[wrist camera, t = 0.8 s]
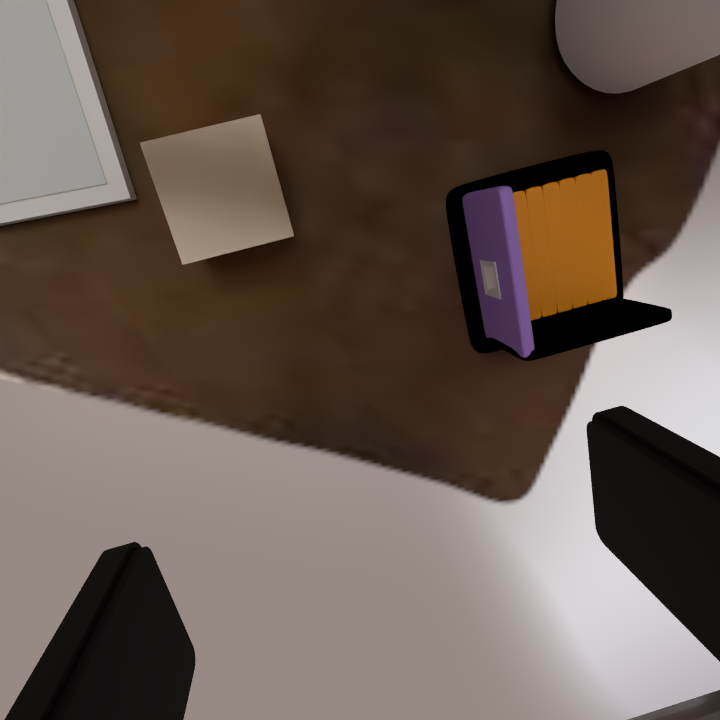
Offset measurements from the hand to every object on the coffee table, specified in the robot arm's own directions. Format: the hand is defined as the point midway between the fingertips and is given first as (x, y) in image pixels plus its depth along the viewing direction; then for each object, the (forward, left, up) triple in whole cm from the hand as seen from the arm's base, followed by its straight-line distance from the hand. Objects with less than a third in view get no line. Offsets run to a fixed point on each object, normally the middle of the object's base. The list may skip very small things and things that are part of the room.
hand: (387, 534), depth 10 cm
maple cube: (-9, -4, -18) cm, 20 cm away
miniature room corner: (-1, +16, -24) cm, 29 cm away
